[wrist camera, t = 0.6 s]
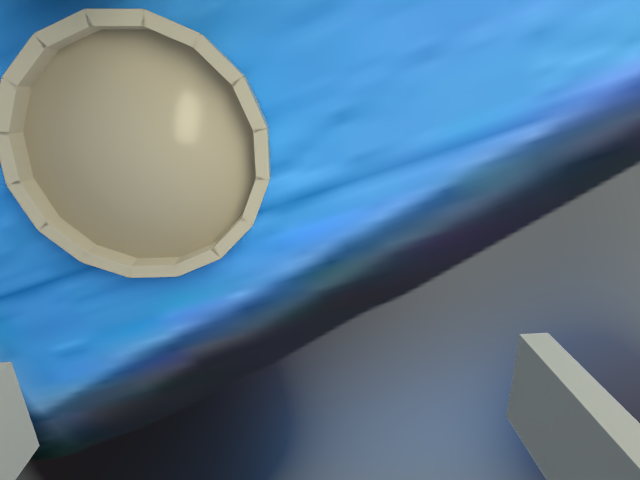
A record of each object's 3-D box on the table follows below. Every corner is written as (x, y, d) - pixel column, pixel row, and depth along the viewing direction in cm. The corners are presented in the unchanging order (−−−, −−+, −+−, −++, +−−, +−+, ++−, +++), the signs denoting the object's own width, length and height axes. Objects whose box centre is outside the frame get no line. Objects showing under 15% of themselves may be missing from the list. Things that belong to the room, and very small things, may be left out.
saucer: (-12, 15, 29) (-39, 8, 27) (264, 15, 30) (261, 9, 28) (48, 268, 36) (30, 280, 33) (275, 262, 37) (274, 273, 34)
